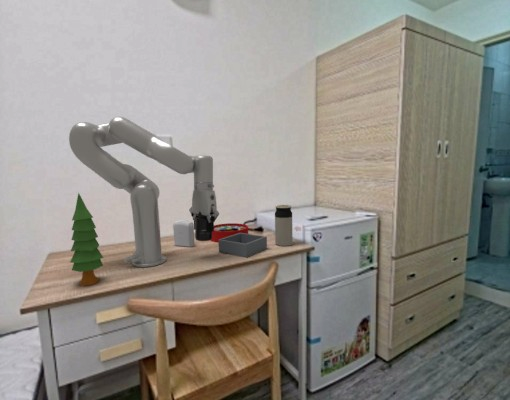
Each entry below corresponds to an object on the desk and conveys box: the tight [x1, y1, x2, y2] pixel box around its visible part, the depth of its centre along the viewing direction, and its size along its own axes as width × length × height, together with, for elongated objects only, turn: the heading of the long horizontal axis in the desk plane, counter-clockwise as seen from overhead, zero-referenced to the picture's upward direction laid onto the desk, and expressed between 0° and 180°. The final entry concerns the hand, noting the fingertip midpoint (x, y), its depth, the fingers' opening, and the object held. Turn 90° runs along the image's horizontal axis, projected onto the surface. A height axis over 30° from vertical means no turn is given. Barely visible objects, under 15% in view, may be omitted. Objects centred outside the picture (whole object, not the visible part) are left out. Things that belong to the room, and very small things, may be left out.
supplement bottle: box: [194, 211, 212, 242], centre depth 122 cm, size 7×7×12 cm
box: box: [218, 233, 268, 259], centre depth 131 cm, size 15×15×6 cm
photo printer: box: [172, 219, 195, 248], centre depth 141 cm, size 10×4×12 cm, turn 63°
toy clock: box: [209, 222, 249, 244], centre depth 154 cm, size 20×6×20 cm
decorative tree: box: [69, 192, 104, 287], centre depth 99 cm, size 10×9×30 cm
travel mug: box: [274, 204, 294, 247], centre depth 139 cm, size 8×8×18 cm
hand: (203, 230), depth 122 cm, fingers closed on supplement bottle, 6 cm apart
